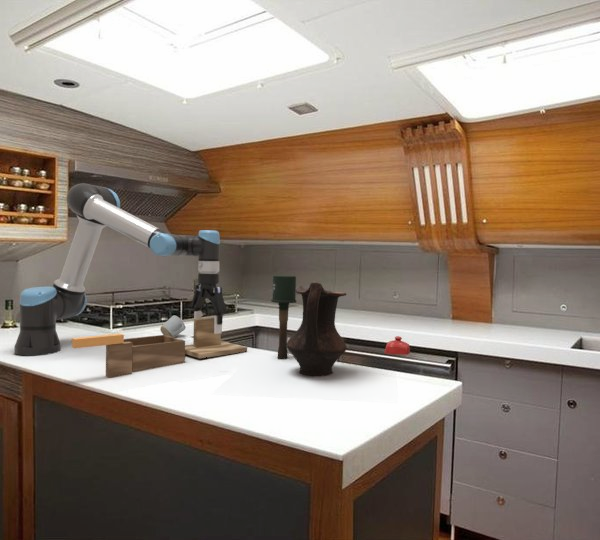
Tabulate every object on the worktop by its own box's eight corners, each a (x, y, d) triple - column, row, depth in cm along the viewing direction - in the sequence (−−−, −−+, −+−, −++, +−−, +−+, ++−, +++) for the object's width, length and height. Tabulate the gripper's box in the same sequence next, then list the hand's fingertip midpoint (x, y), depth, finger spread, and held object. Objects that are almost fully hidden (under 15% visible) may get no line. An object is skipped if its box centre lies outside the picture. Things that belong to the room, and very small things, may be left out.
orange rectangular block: (71, 347, 141) (71, 338, 141) (120, 341, 151) (120, 333, 151) (74, 348, 139) (74, 339, 139) (123, 343, 149) (123, 334, 149)
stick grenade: (281, 358, 178) (283, 274, 177) (299, 362, 173) (302, 276, 171) (264, 362, 171) (266, 275, 170) (283, 366, 166) (285, 276, 165)
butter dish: (414, 357, 187) (415, 335, 187) (412, 364, 176) (413, 340, 176) (383, 355, 191) (384, 333, 190) (379, 361, 180) (380, 337, 179)
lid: (175, 353, 180) (176, 318, 179) (222, 347, 193) (222, 315, 193) (199, 361, 168) (200, 324, 168) (247, 354, 182) (247, 320, 181)
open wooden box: (88, 367, 158) (89, 337, 157) (164, 357, 176) (164, 330, 175) (109, 377, 146) (109, 345, 146) (187, 365, 164) (188, 336, 164)
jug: (291, 368, 164) (293, 277, 163) (347, 372, 161) (350, 279, 160) (278, 385, 143) (280, 280, 142) (342, 389, 140) (345, 283, 139)
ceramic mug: (168, 342, 212) (156, 328, 212) (183, 330, 217) (171, 316, 216) (174, 337, 203) (162, 322, 203) (189, 325, 208) (178, 310, 208)
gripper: (181, 271, 188) (181, 327, 189) (219, 274, 170) (218, 336, 171) (199, 271, 193) (198, 325, 194) (237, 274, 175) (236, 334, 176)
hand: (207, 331), depth 183 cm, fingers open, 13 cm apart
